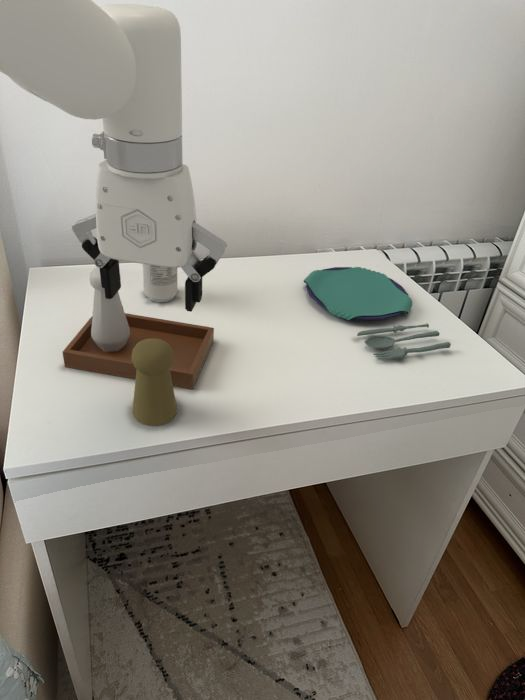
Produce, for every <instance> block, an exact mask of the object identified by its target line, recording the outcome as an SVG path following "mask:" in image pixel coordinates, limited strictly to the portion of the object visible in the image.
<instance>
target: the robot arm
mask: <svg viewBox="0 0 525 700" xmlns="http://www.w3.org/2000/svg"><path fill="white" fill-rule="evenodd" d="M0 73H2V74H3V75H5V76H7V77H8V78H9V79H10V80H11V81H12V82H13V83H15V85H17V86H18V87H19V88H21V89H22V90H24V91H26V92H27V93H29V94H31V95H33V96H35V97H36V98H39V99H40V100H42V101H45V102H47V103H49V104H51V105H52V106H55V107H56V108H57V109H59V110H61V111H63V112H65V113H66V114H68V115H70V116H73V117H75V118H78V119H82V120H101V119H102V128H103V131H102V132H101V133H100V134H99V133H93V134H92V136H91V145H92V147H93V148H95V149H99V150H100V151H103V158H104V160H103V161H101V162H100V163H98V166H97V167H98V169H97V175H96V188H95V189H96V192H95V213H94V214H92V215H89V216H87V217H84V218H82V219H78V220H77V221H76V222H75V223H73V225H72V226H71V231H72V232H73V233H74V235H75V237H76V238H77V240H78V242H80V243H81V248H82V250H83V251H84V252H85V253H86V254H87V255H88V256H89V257H90V258H91V259H92V260H93V263H94V266H95V267H98V268H99V269H100V277H101V285H102V288H104V290H105V298H106V299H111V298H113V297H114V296H115V294H116V293H117V292H118V293H119V291H120V290H121V288H122V283H121V282H122V281H121V280H122V279H121V271H120V261H121V262H127V263H135V264H141V265H143V264H147V265H154V266H161V267H169V268H177V269H178V268H181V270H182V271H183V272H184V273H185V275H186V276H187V278H186V280H185V282H184V294H185V295H184V308H185V311H187V312H193V310H194V308H195V306H196V305H197V303H200V302H201V301H202V298H203V277H205V276H206V275H207V274H208V273H210V272H211V271H212V270H214V269H215V267H216V266H217V264H218V262H219V261H220V259H221V258H222V256H223V254H224V253H225V252H226V250H227V247H228V243H227V242H226V241H225V240H223V239H222V238H221V237H218V236H217V235H216V234H214V233H213V232H211V231H209V230H208V229H206V228H205V227H203V226H202V225H200V224H199V223H197V213H196V202H195V201H196V200H195V194H194V188H193V182H192V178H191V173H190V169H189V166H188V165H187V164H184V163H183V95H182V94H183V91H182V89H183V87H182V86H183V85H182V84H183V83H182V33H181V26H180V23H179V19H178V18H177V16H176V15H175V14H174V13H173V12H172V11H170V10H169V9H166V8H162V7H159V6H153V5H145V4H133V3H131V4H130V3H113V4H112V3H111V4H106V5H103V6H99V5H97V3H95V2H94V1H93V0H0ZM95 229H96V237H95V236H94V235H93V232H92V230H95ZM197 243H198V244H200V245H202V247H203V246H204V247H205V248H207V249H208V250H209V254H208V255H206V257H204V258H203V259H202V258H201V257H200V256H199V254H198V253H197V252H196V251H195V250H196V248H197Z"/></svg>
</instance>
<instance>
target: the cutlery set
mask: <svg viewBox="0 0 525 700" xmlns="http://www.w3.org/2000/svg"><path fill="white" fill-rule="evenodd" d="M303 283H304V284H306V285H305V289H306V292H307V293H308V296H309V297H310V298H311V299H312V300H313V301H314V302H315V303H316V304H317V305H319V306H321V307H322V308H324V309H326V310H327V311H328V313H329V314H330V315H331V316H335V317H338V318H341V319H345V320H347V321H349V320H351V319H358V320H366V321H367V320H368V321H370V320H387V319H389V318H393V317H397V316H399V315H400V314H402V313H404V312H405V313H404V315H409V313H410V310H411V309H412V307H413V300H412V298H411V297H410V296H409V293H408V292H407V291H406V289H405V288H404V287H403V286H402V285H401V284H399V282H396V281H395V280H394V279H393V278H390V277H388V276H387V274H385V273H381V272H380V271H376V270H372V269H370V268H369V269H367V268H366V267H361V266H354V267H352V266H335V267H329V268H324V269H323V268H322V269H316V270H312V271H311V272H310V273H309V274H308V275H307V276H306V277H305V278H304V280H303ZM416 328H430V324H429V323H427V322H426V323H424V324H418V325H407V326H406V325H400V324H399V325H397V326H395V325H393V326H392V327H385V328H384V327H383V328H374V329H366V330H361V331H359V332H357V333H356V336H357V337H361V336H367V335H368V336H369V335H375V334H383V333H384V334H385V333H391V332H392V333H394V334H397V333H398V332H401V333H402V332H404V331H406V330H411V329H416ZM440 334H441V333H440V332H439V331H438V330H433V331H427V332H423V333H417V334H412V335H408V336H404V337H399V338H397V339H396V338H394V337H391V336H386V335H375V336H372V337H368V338H366V340H365V341H364V344H365V345H366V346H368V347H369V348H373V349H377V350H378V349H382V350H383V349H388V348H391V347H393V346H394V345H395V343H399V342H403V341H411V340H415V339H423V338H424V339H425V338H431V337H440ZM451 346H452V343H451V342H450V341H445V342H439V343H435V344H432V345H427V346H421V347H412V348H411V347H410V348H407V347H406V346H404V347H403V348H402V347H399V346H398V347H396V348H393V349H389V350H386V351H382V352H381V351H380V352H377V353H373V354H372V355H373V356H374V357H375V358H376V360H379V361H380V360H391V359H403V358H404V357H405V356H407V355H408V354H412V353H415V354H416V353H426V352H431V351H436V350H442V349H450V348H451Z"/></svg>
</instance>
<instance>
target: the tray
mask: <svg viewBox="0 0 525 700" xmlns="http://www.w3.org/2000/svg"><path fill="white" fill-rule="evenodd" d="M125 316H126V319H127V322H128V325H129V328H130V336H129V338H128V340H127V342H126V345H125V346H124V347H122V348H121V349H120V350H119V351H113V352H105V351H103V350H102V349H100V348H99V347H98V346H97V345H96V343H95V342H94V340H93V339H92V336H91V328H92V317H93V315H91V317H90V318H89V319H88V320H87V322H86V323H85V324H84V325H83V326H82V328H80V330H79V331H78V332H77V334H76V335H75V336H74V337H73V338H72V340H71V341H70V342H69V343H68V344H67V346H66V347H65V348H64V349H63V351H62V357H63V358H62V359H63V364H64V368H68V369H69V368H71V369H75V370H80V371H87V372H92V373H99V374H103V375H109V376H114V377H119V378H126V379H132V380H136V371H137V369H136V368H135V367H134V364H133V362H132V351H133V348H134V347H135V346H136V344H137V343H139V342H140V341H142V340H145V339H151V338H153V339H161V340H163V341H165V342H167V343H168V344H169V345H170V347H171V349H172V351H173V362H172V365H171V366H170V374H171V379H172V384H173V387H176V388H177V387H178V388H182V389H183V388H184V389H188V390H194V388H195V385H196V384H197V381H198V379H199V376H200V374H201V372H202V370H203V367H204V365H205V363H206V360H207V358H208V356H209V353H210V351H211V349H212V346H213V345H214V344H213V343H214V339H215V337H214V335H215V328H214V327H211V326H210V327H209V326H205V325H200V324H199V325H198V324H193V323H187V322H180V321H175V320H168V319H164V318H163V319H162V318H156V317H151V316H150V317H149V316H145V315H138V314H132V313H127V312H125Z"/></svg>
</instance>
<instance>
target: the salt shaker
mask: <svg viewBox="0 0 525 700" xmlns="http://www.w3.org/2000/svg"><path fill="white" fill-rule="evenodd" d="M89 284H90V286H91V287H92V288H93V289H94V291H93V293H94V294H93V305H92V306H93V307H92V316H93V317H92V316H91V317H92V328H91V336H92V339H93V340H94V342H95V343H96V345H97V346H98V347H99V348H100V349H102V350H103V351H105V352H113V351H119V350H120V349H121V348H122V347H124V346H125V345H126V342H127V340H128V338H129V336H130V328H129V325H128V322H127V319H126V316H125V313H126V312H125V310H124V306H123V303H122V300H121V297H120V293H119V291H118V292H117V293H116V294H115V296H114V297H113V298H111V299H106V298H105V290H104V288H102V285H101V277H100V269H99V268H98V267H97V266H95V267H94V268H93V269H92V270H91V271H90V272H89Z"/></svg>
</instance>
